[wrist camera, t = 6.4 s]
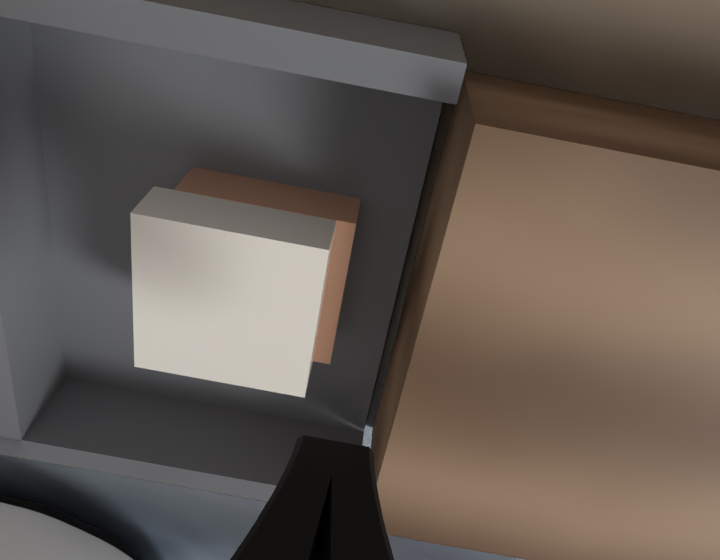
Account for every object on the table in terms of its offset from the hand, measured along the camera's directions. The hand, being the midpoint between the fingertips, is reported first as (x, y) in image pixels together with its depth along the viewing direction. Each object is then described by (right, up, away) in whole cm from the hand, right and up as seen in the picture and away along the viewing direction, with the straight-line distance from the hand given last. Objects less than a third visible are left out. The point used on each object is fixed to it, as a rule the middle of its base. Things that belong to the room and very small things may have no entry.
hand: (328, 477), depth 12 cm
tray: (-4, +5, +6) cm, 9 cm away
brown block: (+8, +2, +6) cm, 11 cm away
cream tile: (-3, +3, +3) cm, 5 cm away
